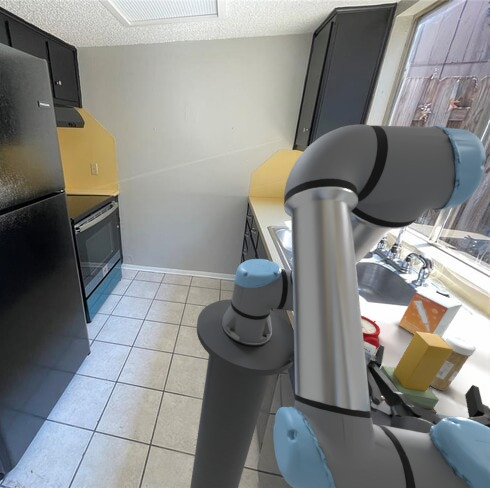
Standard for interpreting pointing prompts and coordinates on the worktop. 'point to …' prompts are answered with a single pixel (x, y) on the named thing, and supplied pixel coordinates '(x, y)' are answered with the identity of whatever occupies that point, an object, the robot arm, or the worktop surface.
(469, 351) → the sprinkles bottle
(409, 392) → the green brown square block
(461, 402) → the worktop surface
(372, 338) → the alarm clock
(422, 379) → the yellow bar
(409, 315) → the small box
